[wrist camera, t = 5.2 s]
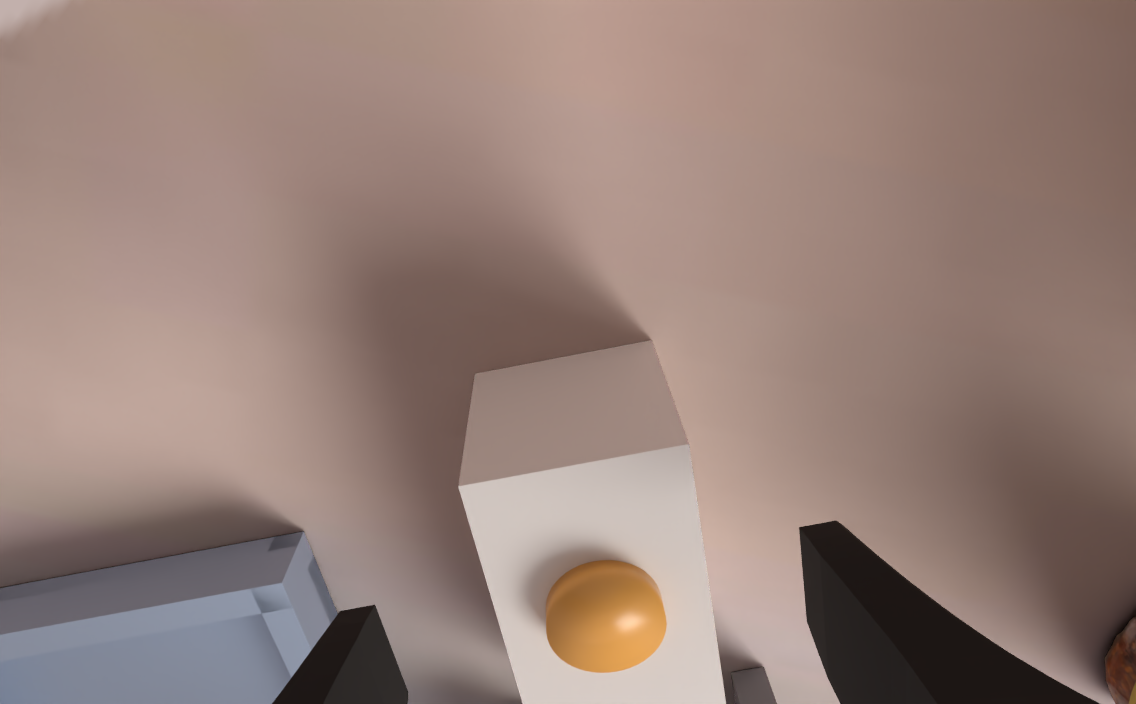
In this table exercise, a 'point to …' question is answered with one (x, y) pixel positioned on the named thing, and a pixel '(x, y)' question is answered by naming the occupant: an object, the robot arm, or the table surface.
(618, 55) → the table surface
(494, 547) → the white block with knob
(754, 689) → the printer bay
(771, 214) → the table surface
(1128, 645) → the sauce bottle
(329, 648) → the robot arm
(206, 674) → the tray
